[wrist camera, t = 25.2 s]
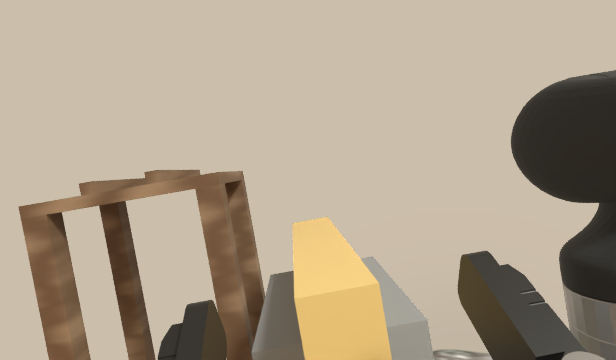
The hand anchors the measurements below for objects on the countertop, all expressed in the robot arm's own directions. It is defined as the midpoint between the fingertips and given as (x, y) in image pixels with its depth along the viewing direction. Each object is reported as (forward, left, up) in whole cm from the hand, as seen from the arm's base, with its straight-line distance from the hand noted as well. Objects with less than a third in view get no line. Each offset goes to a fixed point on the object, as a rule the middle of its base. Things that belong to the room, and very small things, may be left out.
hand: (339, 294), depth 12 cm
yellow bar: (0, -14, -4) cm, 15 cm away
